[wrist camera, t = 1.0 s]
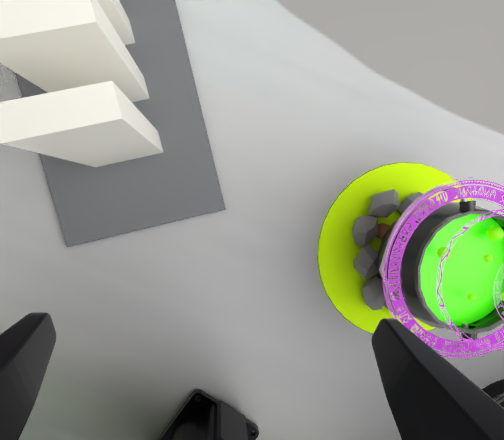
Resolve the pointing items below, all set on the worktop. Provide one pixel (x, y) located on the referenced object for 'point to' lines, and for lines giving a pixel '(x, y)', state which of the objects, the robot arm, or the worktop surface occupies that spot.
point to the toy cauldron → (416, 256)
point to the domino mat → (149, 167)
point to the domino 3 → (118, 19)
